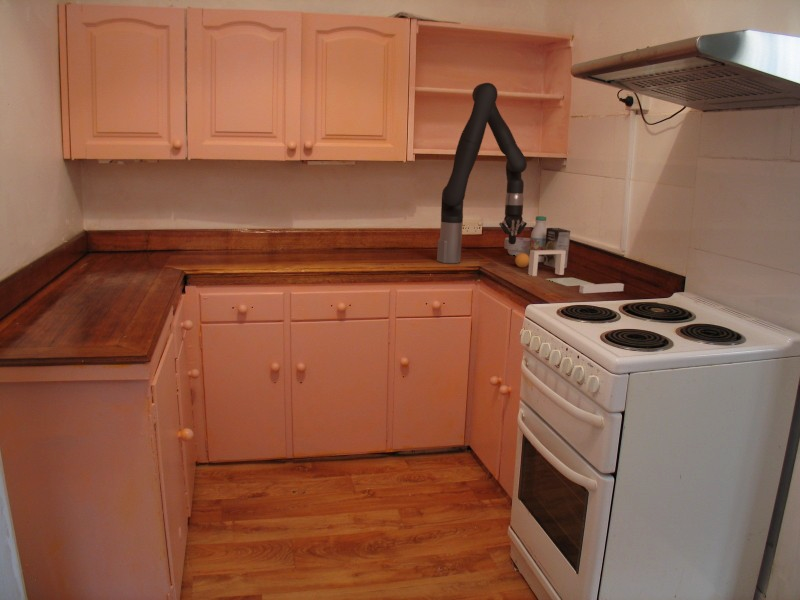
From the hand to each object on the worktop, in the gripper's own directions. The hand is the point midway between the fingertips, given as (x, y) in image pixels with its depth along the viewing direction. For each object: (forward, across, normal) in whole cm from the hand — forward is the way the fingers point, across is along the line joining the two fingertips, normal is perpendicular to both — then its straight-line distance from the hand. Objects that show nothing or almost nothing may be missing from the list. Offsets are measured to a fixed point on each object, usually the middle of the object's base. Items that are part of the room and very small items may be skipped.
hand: (511, 244), depth 291 cm
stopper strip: (+9, 0, +59) cm, 60 cm away
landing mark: (+9, 0, +41) cm, 42 cm away
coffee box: (+9, -17, +9) cm, 21 cm away
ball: (+6, 0, +9) cm, 11 cm away
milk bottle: (+9, -16, -4) cm, 19 cm away
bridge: (+9, 0, +26) cm, 28 cm away
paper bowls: (+9, -18, -21) cm, 29 cm away
